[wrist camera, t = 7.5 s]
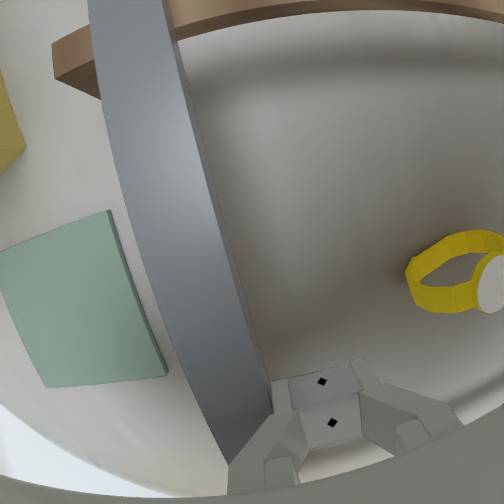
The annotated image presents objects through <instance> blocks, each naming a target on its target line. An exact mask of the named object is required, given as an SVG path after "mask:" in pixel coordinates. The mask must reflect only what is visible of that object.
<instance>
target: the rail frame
mask: <svg viewBox="0 0 504 504" xmlns="http://www.w3.org/2000/svg"><path fill="white" fill-rule="evenodd" d="M168 4H169V8H170V12H171V17H172V21H173V25H174V29H175V33H176V37H177V41H179V40H182V39H185V38H189V37H192V36H196V35H199V34H203V33H207V32H211V31H215V30H219V29H223V28H227V27H231V26H236V25H241V24H245V23H250V22H256V21H261V20H267V19H273V18H279V17H286V16H293V15H301V14H310V13H321V12H333V11H352V10H403V11H421V12H433V13H443V14H452V15H459V16H466V17H473V18H478V19H484V20H489V21H494V22H499V23H503V24H504V0H168ZM51 45H52V58H53V69H54V78H55V79H56V80H58V81H61V82H63V83H65V84H67V85H70V86H72V87H74V88H76V89H78V90H81V91H83V92H85V93H87V94H89V95H91V96H93V97H96V98H98V99H100V100H101V96H100V91H99V85H98V79H97V73H96V67H95V60H94V53H93V46H92V38H91V30H90V24H89V25H87V26H84V27H82V28H80V29H78V30H76V31H74V32H73V33H71V34H69V35H67V36H65V37H63V38H61V39H59V40H58V41H56V42H54V43H52V44H51Z"/></svg>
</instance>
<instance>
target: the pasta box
mask: <svg viewBox="0 0 504 504" xmlns="http://www.w3.org/2000/svg"><path fill="white" fill-rule="evenodd" d="M26 148H27V147H26V144H25V142H24V139H23V137H22V134H21V131H20V129H19V126H18V123H17V120H16V118H15V115H14V112H13V109H12V106H11V103H10V100H9V97H8V94H7V91H6V87H5V84H4V81H3V77H2V74H1V70H0V174H1V173H2V172H3V171H4V170H5V169H6V168H7V166H8V165H9V164H10V163H11V162H12V161H13V160H14V159H15V158H16V157H17V156H18V155H19V154H20V153H21V152H22V151H23V150H25V149H26Z"/></svg>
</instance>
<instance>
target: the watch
mask: <svg viewBox="0 0 504 504" xmlns="http://www.w3.org/2000/svg"><path fill="white" fill-rule="evenodd" d="M468 253H488V254H486V255H485V256H484V257H483V258H482V259H481V260H480V261H479V262H478V264H477V265H476V267H475V269H474V271H473V274H472V277H471V280H470V281H467V282H464V283H461V284H457V285H454V286H439V287H428V286H426V285H423V284H421V283H420V281H421V279H422V278H423V277H425V276H426V275H427V274H429V273H430V272H432V271H433V270H435V269H436V268H438V267H439V266H441V265H442V264H443V263H445V262H446V261H448V260H449V259H451V258H453V257H457V256H460V255H464V254H468ZM405 276H406V279H407V282H408V285H409V288H410V291H411V294H412V297H413V300H414V303H416V305H418V306H420V307H421V308H423V309H425V310H427V311H429V312H433V313H457V312H459V313H460V312H464V311H467V310H470V309H473V308H477V309H479V310H481V311H482V312H485V313H488V314H490V313H494V312H496V311H498V310H499V309H501V308H502V307H503V306H504V237H503V236H502V235H500V234H498V233H495V232H491V231H488V230H467V231H466V232H465V231H462V232H459V233H455V234H451V235H448V236H446V237H445V238H443V239H442V240H440V241H439V242H437V243H436V244H434V245H433V246H431V247H430V248H428V249H427V250H425V251H424V252H422V253H420V254H419V255H417V256H416V257H414V256H413V257H412V259H411V260H410V263H409V265H408V267H407V269H406V271H405Z"/></svg>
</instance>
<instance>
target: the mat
mask: <svg viewBox="0 0 504 504" xmlns="http://www.w3.org/2000/svg"><path fill="white" fill-rule="evenodd" d="M0 289H1V292H2V295H3V297H4V300H5V303H6V305H7V308H8V310H9V313H10V315H11V317H12V320H13V322H14V324H15V327H16V329H17V331H18V333H19V336H20V338H21V340H22V342H23V344H24V346H25V348H26V351H27V353H28V355H29V357H30V359H31V361H32V362H33V364H34V366H35V368H36V370H37V372H38V374H39V376H40V378H41V379H42V381H43V383H44V385H45V387H46V388H57V387H72V386H84V385H95V384H105V383H115V382H123V381H132V380H139V379H147V378H154V377H161V376H167V373H168V370H167V367H166V365H165V363H164V360H163V358H162V356H161V353H160V351H159V349H158V346H157V344H156V341H155V339H154V336H153V334H152V332H151V329H150V326H149V324H148V321H147V319H146V316H145V314H144V311H143V308H142V306H141V303H140V300H139V298H138V295H137V292H136V289H135V286H134V284H133V281H132V278H131V275H130V272H129V269H128V266H127V263H126V260H125V257H124V254H123V251H122V248H121V245H120V241H119V238H118V235H117V232H116V228H115V225H114V222H113V218H112V215H111V211H110V210H108V211H105V212H102V213H99V214H96V215H93V216H90V217H88V218H85V219H82V220H79V221H77V222H74V223H71V224H69V225H66V226H63V227H61V228H58V229H56V230H53V231H50V232H48V233H45V234H43V235H40V236H38V237H35V238H33V239H30V240H28V241H26V242H23V243H21V244H18V245H16V246H14V247H11V248H9V249H7V250H4V251H2V252H0Z"/></svg>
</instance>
